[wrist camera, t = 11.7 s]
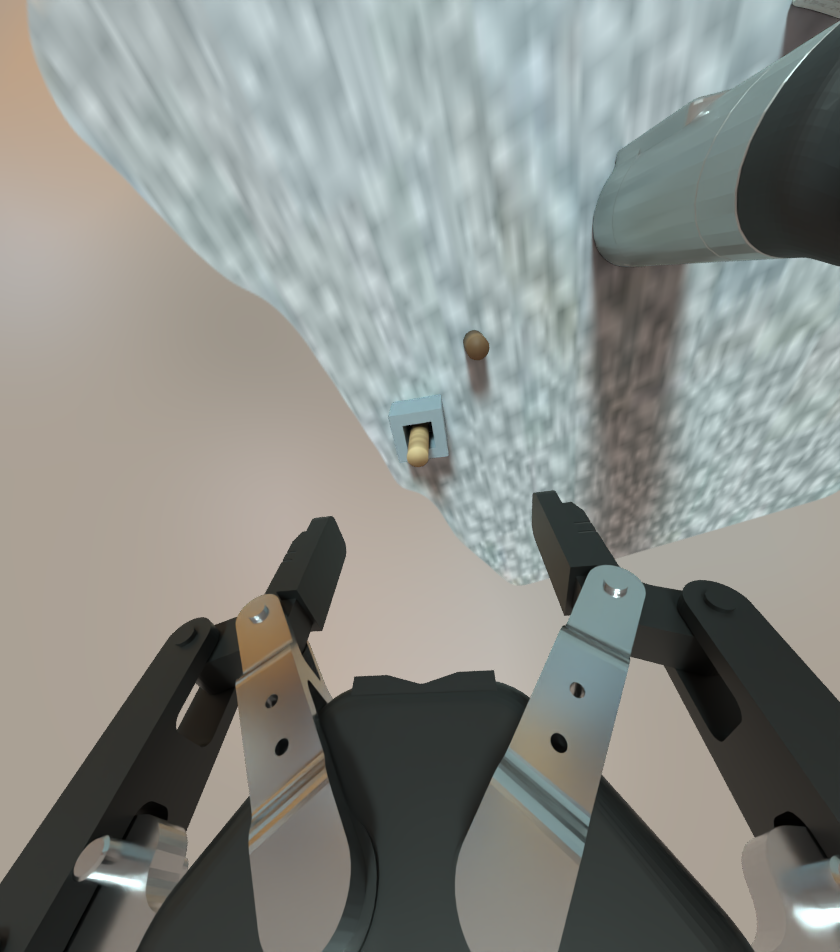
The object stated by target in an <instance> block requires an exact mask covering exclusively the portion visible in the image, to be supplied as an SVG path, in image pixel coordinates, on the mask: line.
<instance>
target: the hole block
mask: <svg viewBox="0 0 840 952" xmlns="http://www.w3.org/2000/svg"><path fill="white" fill-rule="evenodd" d="M388 419H389V423H390V427H391V431H392V435H393V439H394V443H395V447H396V451H397V455H398V458H399V462H400V463H402V462H408V461H407V452H408V445H409V438H410V429H409V425H412V424H419V423H425V422H432V428H433V432H429V454H428V459H430V458H438V457H445V456H449V454H448V441H447V433H446V427H445V420H444V413H443V406H442V399H441V395H435V396H429V397H423V398H417V399H411V400H405V401H399V402H393V403H392V406H391V409H390V412H389V415H388Z"/></svg>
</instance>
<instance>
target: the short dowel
mask: <svg viewBox="0 0 840 952" xmlns="http://www.w3.org/2000/svg"><path fill="white" fill-rule="evenodd" d="M463 344H464V347H465V349H466V352H467V354H468V356H469V357H470V358H471V359H473V360H481V359H483V358H484V357H486V355H487V354H488V352H489V343H488V341H487V340H486V339H485V337H484V336H483V335H482V334H481V333H480V332H479V331H477V330H472V331H470V332H468V333H467V334H466V335H465V337H464V340H463Z"/></svg>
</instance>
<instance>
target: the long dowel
mask: <svg viewBox="0 0 840 952" xmlns="http://www.w3.org/2000/svg"><path fill="white" fill-rule="evenodd" d="M428 454H429V422H425V423H419V424H412V425H411V431H410V438H409V445H408V452H407V461H408V462H409V464H410V465H412V466H414V467H421V466H424V465H425V464H426V463H427V462H428Z"/></svg>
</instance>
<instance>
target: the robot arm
mask: <svg viewBox="0 0 840 952" xmlns="http://www.w3.org/2000/svg"><path fill="white" fill-rule="evenodd" d="M593 232H594V239H595V243H596V246H597V248H598V250H599V252H600V254H601V255H602V256H603V257H604V258H605V259H606V260H607V261H608V262H610V263H612V264H614V265H616V266H622V267H643V266H655V265H673V264H691V263H709V262H728V261H746V260H765V259H783V258H811V259H815V260H819V261H822V262H826V263H829V264H832V265H836V266H840V21H839V22H837V23H835V24H834V25H832V26H831V27H829V28H827V29H826V30H824V31H823V32H821V33H820V34H818V35H816V36H815V37H813V38H812V39H810V40H809V41H807V42H805V43H804V44H802V45H801V46H799V47H797V48H796V49H795V50H793V51H791V52H790V53H788V54H787V55H785V56H783V57H782V58H780V59H779V60H777V61H776V62H774V63H772V64H771V65H769V66H768V67H766V68H765V69H763V70H761V71H760V72H758V73H757V74H755V75H754V76H752V77H750V78H749V79H747V80H746V81H744V82H742V83H741V84H739V85H738V86H736V87H735V88H733V89H729V90H725V91H722V92H718V93H714V94H710V95H707V96H703V97H699V98H697V99H694V100H693V101H691V102H689V103H688V104H686V105H685V106H683V107H682V108H681V109H679V110H678V111H676V112H675V113H673V114H672V115H670V116H669V117H667V118H666V119H664V120H663V121H662V122H660V123H659V124H657V125H656V126H654V127H653V128H651V129H650V130H648V131H647V132H646V133H644V134H643V135H641V136H640V137H638V138H637V139H635V140H634V141H632V142H631V143H630V144H628V145H627V146H625V147H624V148H622V149H621V150H619V152H618V153H617V159H616V165H615V168H614V170H613V172H612V174H611V175H610V177H609V179H608V180H607V182H606V184H605V185H604V187H603V189H602V192H601V194H600V196H599V199H598V201H597V205H596V209H595V212H594V221H593ZM532 529H533V534H534V538H535V541H536V543H537V546H538V549H539V551H540V554H541V556H542V559H543V562H544V564H545V567H546V569H547V572H548V575H549V577H550V580H551V582H552V585H553V588H554V590H555V593H556V595H557V598H558V600H559V603H560V606H561V608H562V611H563V613H564V616H566V615H570V618H569V620H568V622H567V624H566V626H562V628H561V630H560V632H559V634H558V636H557V638H556V641H555V643H554V645H553V647H552V650H551V652H550V654H549V656H548V659H547V661H546V663H545V666H544V668H543V670H542V672H541V675H540V677H539V679H538V681H537V684H536V686H535V688H534V691H533V693H532V695H531V697H530V698H529V697H528V696H527V695H525V694H524V693H522V692H521V691H519V690H517V689H515V688H514V687H511V686H509V685H506V684H504V683H500V682H496V681H495V675H494V670H491V671H469V672H457V673H454V674H451V675H448V676H445V677H442V678H439V679H436V680H433V681H430V682H427V683H424V684H418V683H415V682H411V681H407V680H403V679H399V678H396V677H392V676H388V675H381V676H359V677H354V682H353V688H352V689H350V690H348V691H346V692H344V693H342V694H340V695H339V696H337V697H335V698H334V699H333V698H332V697H331V695H330V693H329V691H328V689H327V687H326V685H325V682H324V680H323V677H322V674H321V672H320V669H319V667H318V664H317V662H316V659H315V656H314V654H313V651H312V648H311V646H310V643H309V642H308V637H309V634H310V632H312V631H322V629H323V627H324V623H325V620H326V617H327V614H328V611H329V608H330V604H331V601H332V598H333V595H334V592H335V589H336V585H337V582H338V579H339V576H340V573H341V570H342V566H343V563H344V560H345V557H346V545H345V541H344V539H343V537H342V534H341V532H340V530H339V527H338V525H337V523H336V521H335V519H334V517H332V516H328V517H319V518H314V519H312V521H311V523H310V525H309V527H308V529H307V531H305V532H302V533H301V534H300V535H299V536H298V537H297V538H296V539H295V540H294V541H293V542H292V544H291V546H290V548H289V550H288V552H287V554H286V555H285V557H284V559H283V562H282V563H281V564H280V566H279V568H278V570H277V572H276V574H275V576H274V578H273V579H272V581H271V583H270V585H269V587H268V589H267V591H266V593H265V594H264V595H261V596H259V597H257V598H255V599H253V600H252V601H250V602H249V603H248V604H247V605H246V606H245V607H244V608H243V609H242V610H241V611H240V613H239V615H238V617H235V618H233V619H230V620H227V621H225V622H222V623H219V624H216V625H213V623H212V622H210V620H209V619H207V618H204V617H201V618H196V619H193V620H191V621H189V622H187V623H185V624H184V625H182V626H181V627H180V628H178V629H177V630H176V631H175V632H174V633H173V634H172V635H171V636H170V637H169V638H168V640H167V641H166V643H165V644H164V646H163V647H162V648H161V650H160V651H159V653H158V654H157V656H156V657H155V659H154V660H153V662H152V663H151V664H150V666H149V667H148V669H147V670H146V672H145V673H144V675H143V676H142V678H141V679H140V681H139V682H138V683H137V685H136V686H135V688H134V689H133V691H132V693H131V694H130V695H129V697H128V698H127V700H126V701H125V703H124V704H123V705H122V707H121V708H120V710H119V711H118V713H117V714H116V716H115V717H114V719H113V720H112V722H111V723H110V724H109V726H108V727H107V729H106V730H105V732H104V733H103V735H102V736H101V738H100V739H99V741H98V742H97V743H96V745H95V746H94V748H93V749H92V751H91V752H90V754H89V755H88V756H87V758H86V759H85V761H84V762H83V764H82V765H81V767H80V768H79V770H78V771H77V772H76V774H75V775H74V777H73V778H72V780H71V781H70V783H69V784H68V786H67V787H66V789H65V790H64V791H63V793H62V794H61V796H60V797H59V799H58V800H57V802H56V803H55V805H54V806H53V808H52V809H51V811H50V812H49V813H48V815H47V816H46V818H45V819H44V821H43V822H42V824H41V825H40V827H39V828H38V829H37V831H36V832H35V834H34V835H33V837H32V838H31V840H30V841H29V843H28V844H27V845H26V847H25V848H24V850H23V851H22V853H21V854H20V856H19V857H18V859H17V860H16V862H15V863H14V864H13V866H12V867H11V869H10V870H9V872H8V873H7V875H6V876H5V878H4V879H3V881H2V882H1V884H0V952H840V702H839V701H838V700H837V698H836V697H835V696H834V695H833V694H832V693H831V692H830V691H829V689H828V688H827V687H826V686H825V685H824V684H823V683H822V682H821V681H820V679H819V678H818V677H817V676H816V675H815V674H814V673H813V672H812V671H811V669H810V668H809V667H808V666H807V665H806V664H805V663H804V661H803V660H802V659H801V658H800V657H799V656H798V655H797V654H796V653H795V651H794V650H793V649H792V648H791V647H790V646H789V645H788V644H787V643H786V641H785V640H784V639H783V638H782V637H781V636H780V635H779V634H778V632H777V631H776V630H775V629H774V628H773V627H772V626H771V625H770V623H769V622H768V621H767V620H766V619H765V618H764V617H763V616H762V614H761V613H760V612H759V611H758V610H757V609H756V608H755V607H754V605H753V604H752V603H751V602H750V601H749V600H748V599H747V598H745V597H744V596H743V595H742V594H740V593H739V592H737V591H736V590H734V589H732V588H730V587H728V586H725V585H723V584H720V583H717V582H713V581H706V580H697V581H692V582H690V583H688V584H687V585H685V587H684V588H683V591H681V590H675V589H669V588H663V587H657V586H653V585H648V584H645V583H642V582H641V581H640V580H639V578H638V577H636V576H635V575H634V574H633V573H631V572H629V571H628V570H626V569H623V568H621V567H619V565H618V564H617V562H616V561H615V559H614V558H613V556H612V555H611V553H610V551H609V550H608V548H607V547H606V545H605V544H604V542H603V540H602V539H601V537H600V536H599V534H598V533H597V532H596V530H595V528H594V526H593V525H592V523H590V520H589V519H588V517H587V515H586V514H585V512H584V511H583V510H582V509H581V508H579V507H578V506H576V505H575V504H574V503H572V502H568V503H562V502H561V500H560V498H559V497H558V495H557V493H556V492H555V491H554V490H552V491H544V492H536V493H533V498H532ZM630 657H634V658H638V659H642V660H646V661H650V662H654V663H657V664H661V665H664V667H665V668H666V670H667V672H668V674H669V676H670V678H671V680H672V682H673V683H674V685H675V687H676V689H677V691H678V693H679V695H680V697H681V699H682V701H683V703H684V704H685V706H686V708H687V710H688V712H689V714H690V716H691V718H692V720H693V721H694V723H695V725H696V727H697V729H698V731H699V733H700V735H701V736H702V738H703V740H704V742H705V744H706V746H707V748H708V750H709V752H710V754H711V755H712V757H713V759H714V761H715V763H716V765H717V767H718V768H719V771H720V773H721V774H722V776H723V778H724V780H725V782H726V784H727V786H728V787H729V790H730V791H731V793H732V795H733V797H734V799H735V801H736V803H737V805H738V806H739V808H740V810H741V812H742V814H743V816H744V818H745V820H746V822H747V824H748V825H749V827H750V829H751V831H752V833H753V835H754V837H755V838H753V839H752V840H750V841H749V842H747V844H746V845H745V847H744V849H743V852H742V869H743V873H744V877H745V880H746V883H747V886H748V888H749V891H750V894H751V896H752V899H753V902H754V906H755V910H756V917H757V933H756V936H755V940H754V942H753V943H752V945H750V944H749V942H748V941H747V939H746V938H745V937H744V936H743V934H742V933H741V931H740V930H739V929H738V927H737V926H736V925H735V923H734V922H733V921H732V920H731V919H730V917H729V916H728V915H727V914H726V912H725V911H724V910H723V909H722V908H721V907H720V906H719V905H718V903H717V902H716V901H715V900H714V899H713V898H712V897H711V896H710V895H709V893H708V892H707V891H706V890H705V889H704V888H703V887H702V886H701V884H700V883H699V882H698V881H697V880H696V879H695V878H694V877H693V876H692V874H691V873H690V872H689V871H688V870H687V869H686V868H685V867H684V866H683V865H682V863H681V862H680V861H679V860H678V859H677V858H676V857H675V856H674V855H673V853H672V852H671V851H670V850H669V849H668V848H667V847H666V846H665V845H664V843H663V842H662V841H661V840H660V839H659V838H658V837H657V836H656V834H655V833H654V832H653V831H652V830H651V829H650V828H649V827H648V826H647V824H646V823H645V822H644V821H643V820H642V819H641V818H640V817H639V816H638V815H637V813H636V812H635V811H634V810H633V809H632V808H631V807H630V806H629V805H628V803H627V802H626V801H625V800H624V799H623V798H622V797H621V796H620V794H619V793H618V792H617V791H616V790H615V789H614V788H613V787H612V786H611V785H610V783H609V782H608V781H607V780H606V779H605V778H604V777H603V776H602V770H603V766H604V763H605V758H606V754H607V751H608V747H609V742H610V739H611V735H612V731H613V727H614V723H615V719H616V715H617V711H618V707H619V703H620V699H621V695H622V691H623V688H624V684H625V679H626V676H627V672H628V667H629V663H630ZM195 683H196V684H197V685H198V686H200V687H199V689H198V691H197V693H196V695H195V697H194V699H193V701H192V703H191V705H190V707H189V708H188V710H187V712H186V714H185V716H184V718H183V720H182V722H181V724H180V726H179V727H178V729H176V721H177V717H178V714H179V712H180V710H181V708H182V706H183V705H184V703H185V701H186V699H187V697H188V696H189V694H190V692H191V690H192V688H193V686H194V684H195ZM237 707H238V709H239V717H240V725H241V732H242V740H243V747H244V756H245V764H246V771H247V779H248V787H249V794H250V796H249V797H248V798H247V799H246V801H245V802H244V803H243V804H242V805H241V807H240V808H239V809H238V810H237V811H236V813H235V814H234V815H233V816H232V818H231V819H230V820H229V821H228V823H227V824H226V825H225V826H224V827H223V828H222V830H221V831H220V832H219V833H218V835H217V836H216V837H215V838H214V839H213V841H212V842H211V843H210V844H209V846H208V847H207V848H206V849H205V850H204V852H203V853H202V854H201V855H200V856H199V858H198V859H197V860H196V861H195V862H194V864H193V865H192V866H191V867H190V869H189V870H188V859H187V858H186V852H187V843H188V842H187V834H186V831H187V828H188V826H189V823H190V821H191V818H192V816H193V814H194V811H195V809H196V806H197V804H198V801H199V799H200V797H201V794H202V792H203V789H204V787H205V784H206V782H207V780H208V777H209V775H210V772H211V770H212V767H213V765H214V763H215V760H216V758H217V755H218V753H219V750H220V748H221V746H222V743H223V741H224V738H225V736H226V733H227V731H228V729H229V726H230V724H231V721H232V719H233V716H234V714H235V712H236V709H237Z"/></svg>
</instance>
